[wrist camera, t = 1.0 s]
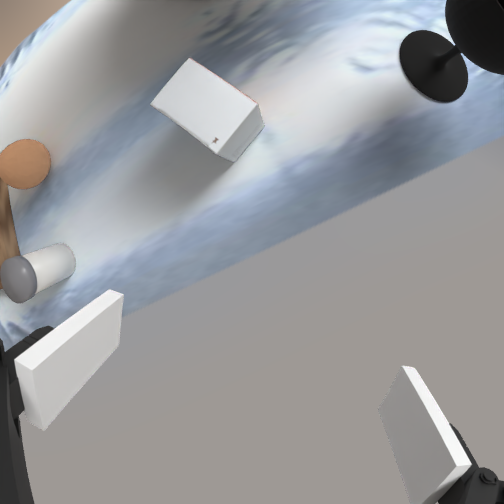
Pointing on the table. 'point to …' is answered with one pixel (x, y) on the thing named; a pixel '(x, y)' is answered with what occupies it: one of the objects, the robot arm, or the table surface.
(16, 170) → the egg
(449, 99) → the wine glass
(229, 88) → the small box
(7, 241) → the tray
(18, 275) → the shaker
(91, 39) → the table surface
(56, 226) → the table surface
